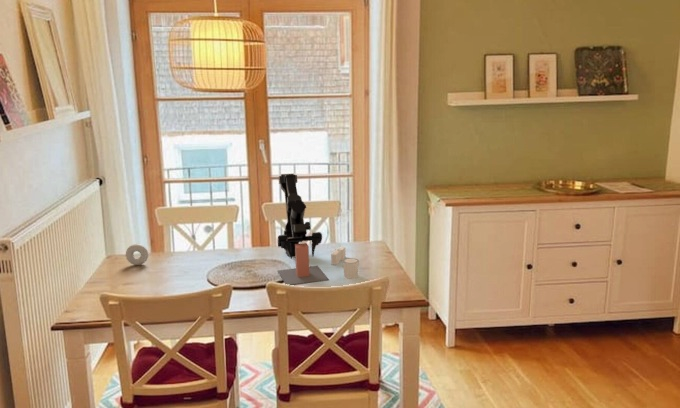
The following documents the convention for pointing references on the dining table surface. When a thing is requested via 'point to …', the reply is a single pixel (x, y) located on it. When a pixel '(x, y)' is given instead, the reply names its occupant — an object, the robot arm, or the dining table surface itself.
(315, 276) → the mat
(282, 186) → the robot arm
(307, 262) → the card box
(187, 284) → the dining table surface
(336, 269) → the dining table surface
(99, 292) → the dining table surface
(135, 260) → the donut
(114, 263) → the dining table surface
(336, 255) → the napkin holder
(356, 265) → the shot glass
